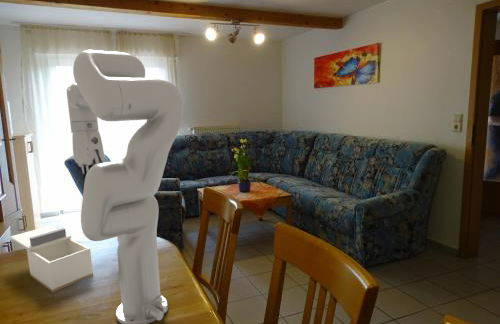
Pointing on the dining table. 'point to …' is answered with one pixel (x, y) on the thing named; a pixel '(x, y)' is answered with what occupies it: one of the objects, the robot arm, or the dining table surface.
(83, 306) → the dining table surface
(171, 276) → the dining table surface
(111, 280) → the dining table surface
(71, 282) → the carton
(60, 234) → the carton lid
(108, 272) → the dining table surface
